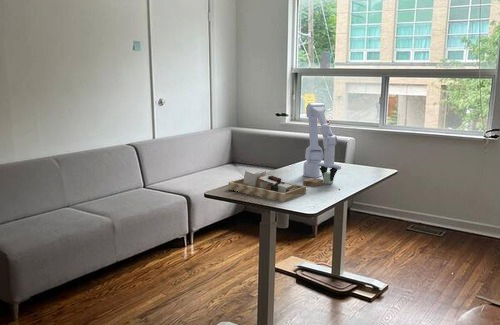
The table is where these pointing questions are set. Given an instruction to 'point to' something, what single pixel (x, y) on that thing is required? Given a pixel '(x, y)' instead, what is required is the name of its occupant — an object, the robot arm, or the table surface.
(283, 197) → the tray
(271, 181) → the toy
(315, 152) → the robot arm
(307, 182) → the walnut plinth
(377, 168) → the table surface
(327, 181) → the green block
